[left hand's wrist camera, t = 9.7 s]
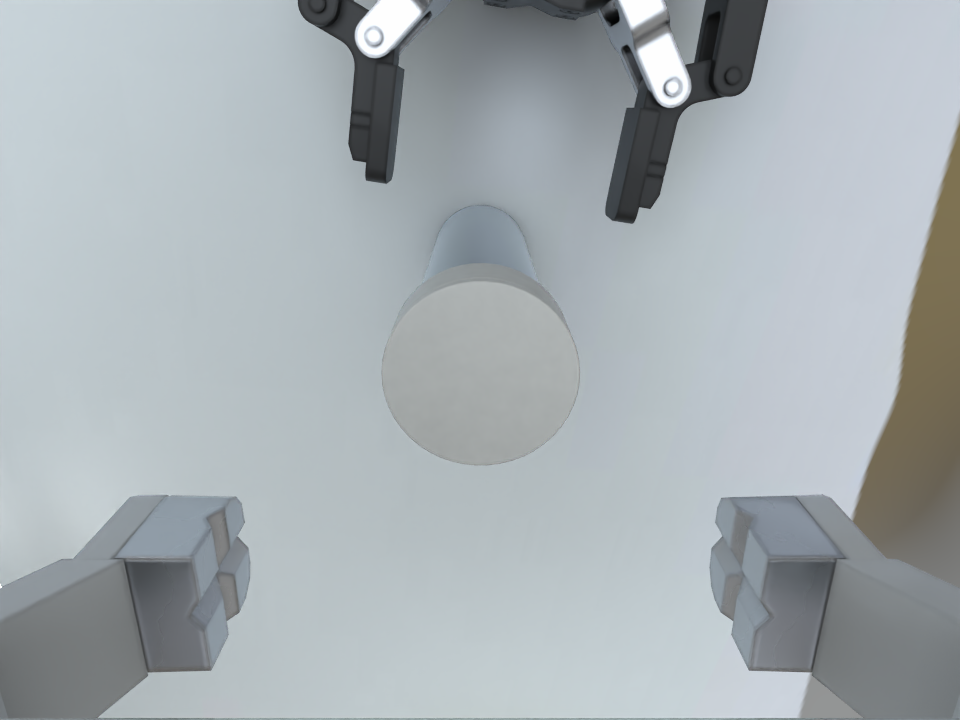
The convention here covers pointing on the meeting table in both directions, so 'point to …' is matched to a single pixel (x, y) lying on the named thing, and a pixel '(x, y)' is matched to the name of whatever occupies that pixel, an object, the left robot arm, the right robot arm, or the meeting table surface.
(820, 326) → the meeting table surface
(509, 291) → the lid
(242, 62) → the meeting table surface
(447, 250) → the blue-grey bottle
